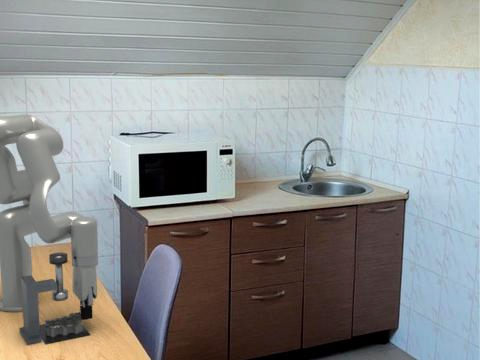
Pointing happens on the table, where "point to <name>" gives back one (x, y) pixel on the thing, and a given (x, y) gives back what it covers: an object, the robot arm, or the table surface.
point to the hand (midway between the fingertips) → (86, 318)
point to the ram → (59, 275)
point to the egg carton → (64, 325)
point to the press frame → (31, 313)
